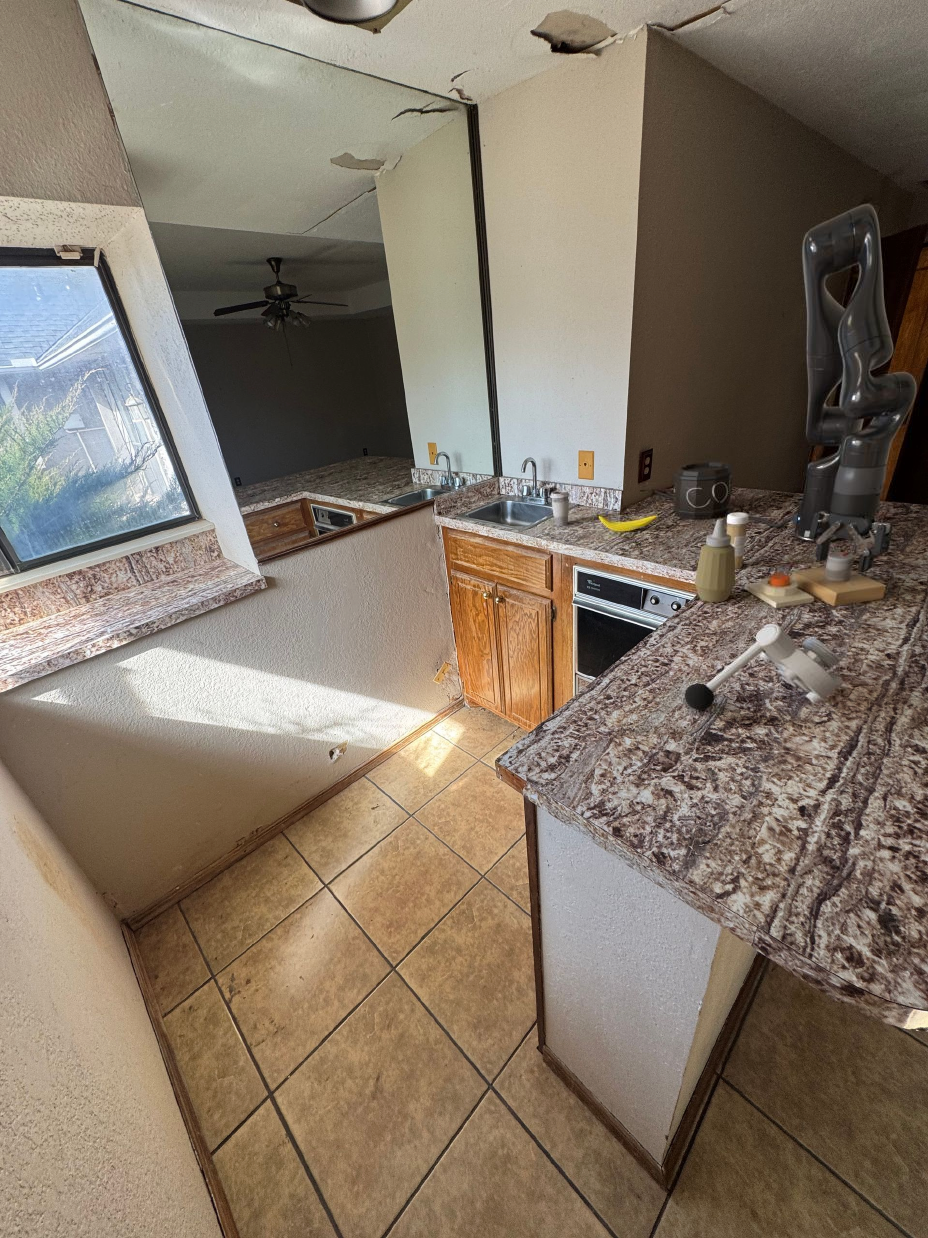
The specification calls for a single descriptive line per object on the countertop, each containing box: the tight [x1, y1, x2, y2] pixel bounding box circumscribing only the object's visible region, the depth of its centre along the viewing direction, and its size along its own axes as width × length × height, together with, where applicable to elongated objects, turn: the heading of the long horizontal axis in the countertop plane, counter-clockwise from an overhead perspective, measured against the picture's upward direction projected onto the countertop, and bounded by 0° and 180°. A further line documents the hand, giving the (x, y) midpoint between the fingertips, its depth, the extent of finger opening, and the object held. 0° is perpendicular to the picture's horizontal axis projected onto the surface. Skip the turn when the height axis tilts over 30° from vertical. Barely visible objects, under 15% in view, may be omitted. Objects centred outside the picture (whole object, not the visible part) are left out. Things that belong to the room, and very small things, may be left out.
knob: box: [824, 550, 856, 582], centre depth 100 cm, size 4×4×5 cm
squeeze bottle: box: [694, 518, 736, 603], centre depth 104 cm, size 8×8×18 cm
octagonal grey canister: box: [672, 461, 735, 521], centre depth 161 cm, size 18×18×16 cm
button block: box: [744, 577, 815, 609], centre depth 104 cm, size 11×8×3 cm
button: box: [769, 573, 791, 587], centre depth 103 cm, size 4×4×2 cm
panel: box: [790, 565, 887, 607], centre depth 102 cm, size 13×10×3 cm
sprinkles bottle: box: [726, 511, 750, 569], centre depth 119 cm, size 5×5×13 cm
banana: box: [596, 513, 658, 533], centre depth 157 cm, size 3×19×6 cm, turn 71°
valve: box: [684, 623, 844, 711], centre depth 74 cm, size 10×20×15 cm
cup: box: [549, 489, 571, 527], centre depth 174 cm, size 7×7×12 cm
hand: (841, 565), depth 100 cm, fingers open, 8 cm apart
